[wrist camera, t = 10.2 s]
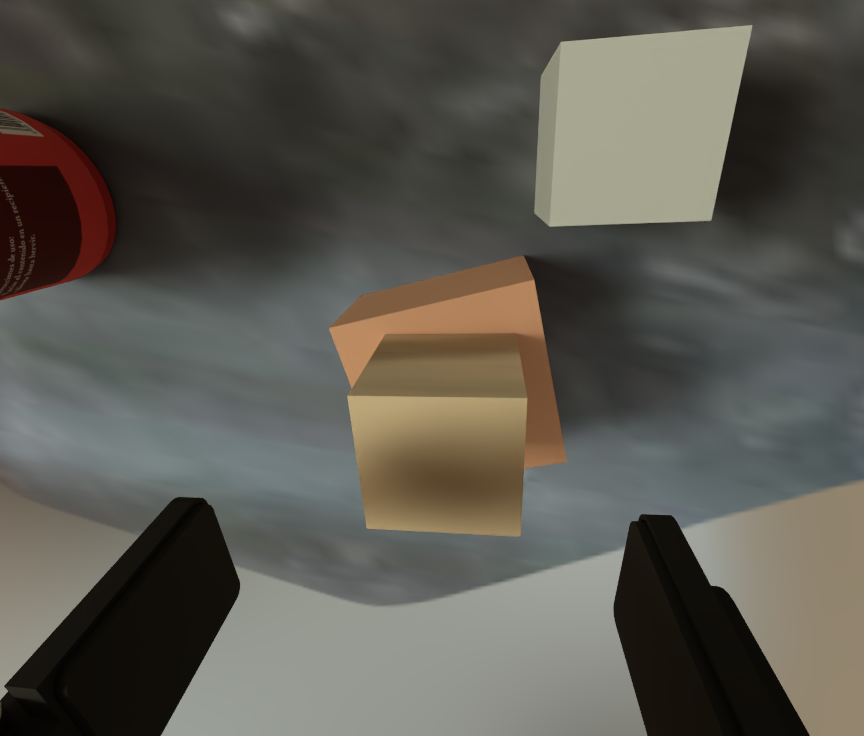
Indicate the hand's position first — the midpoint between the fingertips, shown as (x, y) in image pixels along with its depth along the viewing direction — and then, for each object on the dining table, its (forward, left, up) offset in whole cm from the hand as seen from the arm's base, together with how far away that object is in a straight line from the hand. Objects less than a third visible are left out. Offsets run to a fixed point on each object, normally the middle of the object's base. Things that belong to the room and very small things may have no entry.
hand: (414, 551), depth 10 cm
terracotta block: (+1, 0, -13) cm, 13 cm away
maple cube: (0, 0, -8) cm, 8 cm away
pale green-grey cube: (-8, +6, -13) cm, 17 cm away
